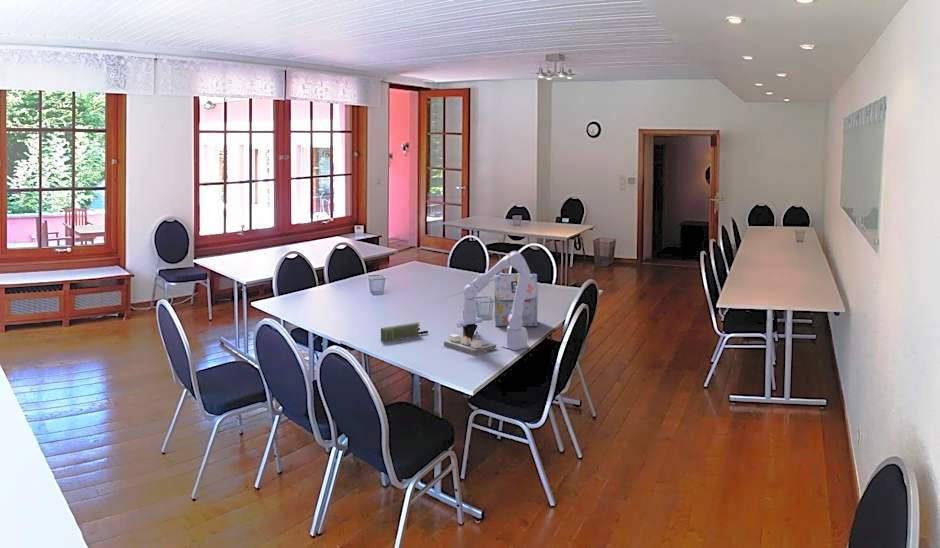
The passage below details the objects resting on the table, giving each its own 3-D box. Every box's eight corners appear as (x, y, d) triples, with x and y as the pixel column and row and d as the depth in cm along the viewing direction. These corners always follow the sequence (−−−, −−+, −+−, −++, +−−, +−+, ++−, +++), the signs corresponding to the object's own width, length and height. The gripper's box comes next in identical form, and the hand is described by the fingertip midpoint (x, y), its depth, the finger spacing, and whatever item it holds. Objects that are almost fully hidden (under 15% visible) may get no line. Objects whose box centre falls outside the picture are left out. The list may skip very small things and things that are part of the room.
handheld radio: (380, 341, 356) (425, 333, 370) (383, 343, 353) (429, 335, 367) (380, 327, 355) (426, 320, 368) (383, 329, 352) (429, 322, 365)
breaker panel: (465, 340, 358) (465, 335, 357) (496, 348, 344) (496, 344, 343) (443, 345, 348) (443, 341, 348) (474, 355, 334) (474, 350, 334)
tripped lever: (465, 342, 346) (465, 336, 345) (470, 343, 343) (470, 337, 343) (460, 343, 344) (460, 337, 343) (466, 345, 341) (466, 339, 341)
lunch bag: (493, 328, 379) (493, 276, 374) (493, 319, 396) (494, 270, 391) (537, 329, 379) (539, 277, 374) (536, 320, 395) (537, 270, 390)
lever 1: (454, 339, 351) (454, 334, 350) (459, 340, 348) (459, 335, 348) (449, 340, 349) (449, 335, 348) (454, 342, 346) (454, 336, 346)
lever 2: (475, 345, 341) (475, 340, 340) (481, 347, 338) (481, 341, 338) (470, 346, 339) (470, 341, 338) (476, 348, 336) (476, 343, 336)
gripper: (475, 307, 350) (474, 335, 353) (452, 312, 340) (452, 341, 343) (485, 309, 345) (485, 338, 348) (462, 315, 335) (462, 344, 338)
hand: (469, 340), depth 345 cm, fingers closed
